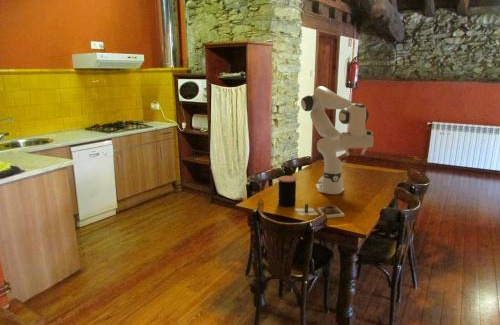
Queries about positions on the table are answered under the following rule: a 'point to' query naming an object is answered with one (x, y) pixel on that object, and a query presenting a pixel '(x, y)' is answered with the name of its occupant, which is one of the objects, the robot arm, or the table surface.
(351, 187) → the table surface
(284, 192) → the coffee jar
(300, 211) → the stake
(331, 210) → the brown square block
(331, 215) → the grey square frame
